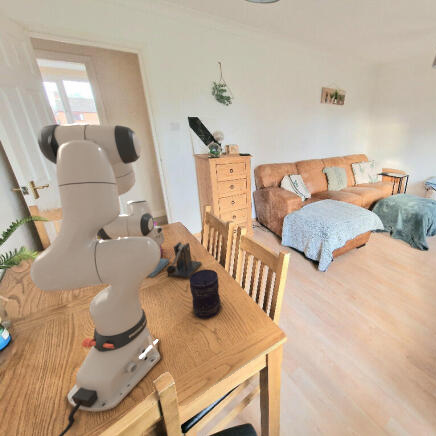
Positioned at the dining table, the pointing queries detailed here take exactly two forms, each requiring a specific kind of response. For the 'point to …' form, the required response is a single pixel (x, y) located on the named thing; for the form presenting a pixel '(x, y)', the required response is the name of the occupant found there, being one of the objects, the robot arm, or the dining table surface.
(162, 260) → the panel
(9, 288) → the dining table surface
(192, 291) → the storage jar
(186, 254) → the switch bracket
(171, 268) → the power lever
